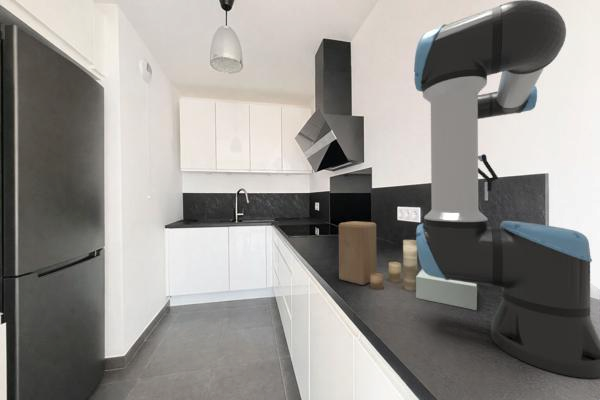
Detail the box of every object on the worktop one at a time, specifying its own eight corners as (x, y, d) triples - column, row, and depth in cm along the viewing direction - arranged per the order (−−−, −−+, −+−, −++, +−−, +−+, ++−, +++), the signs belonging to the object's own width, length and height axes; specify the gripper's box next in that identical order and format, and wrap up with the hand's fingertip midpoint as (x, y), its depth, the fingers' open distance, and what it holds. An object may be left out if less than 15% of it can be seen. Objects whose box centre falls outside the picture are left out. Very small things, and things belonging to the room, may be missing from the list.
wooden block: (337, 279, 87) (337, 222, 87) (352, 273, 94) (352, 220, 94) (363, 286, 80) (363, 224, 80) (377, 279, 87) (377, 222, 87)
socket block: (476, 310, 62) (476, 286, 62) (416, 297, 70) (416, 276, 70) (476, 293, 74) (476, 272, 74) (424, 284, 82) (424, 265, 82)
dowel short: (380, 290, 76) (380, 277, 76) (368, 288, 79) (368, 275, 79) (384, 286, 80) (384, 274, 80) (372, 284, 82) (372, 272, 82)
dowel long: (415, 291, 75) (415, 242, 75) (402, 289, 77) (401, 241, 77) (418, 287, 78) (418, 240, 78) (405, 285, 81) (404, 239, 81)
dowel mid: (399, 283, 83) (399, 265, 83) (387, 281, 85) (387, 263, 85) (402, 280, 86) (402, 263, 86) (390, 278, 88) (390, 261, 88)
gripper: (506, 140, 88) (507, 200, 87) (429, 150, 104) (429, 200, 104) (506, 136, 82) (506, 200, 82) (424, 147, 98) (424, 200, 98)
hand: (463, 200), depth 93 cm, fingers open, 13 cm apart
